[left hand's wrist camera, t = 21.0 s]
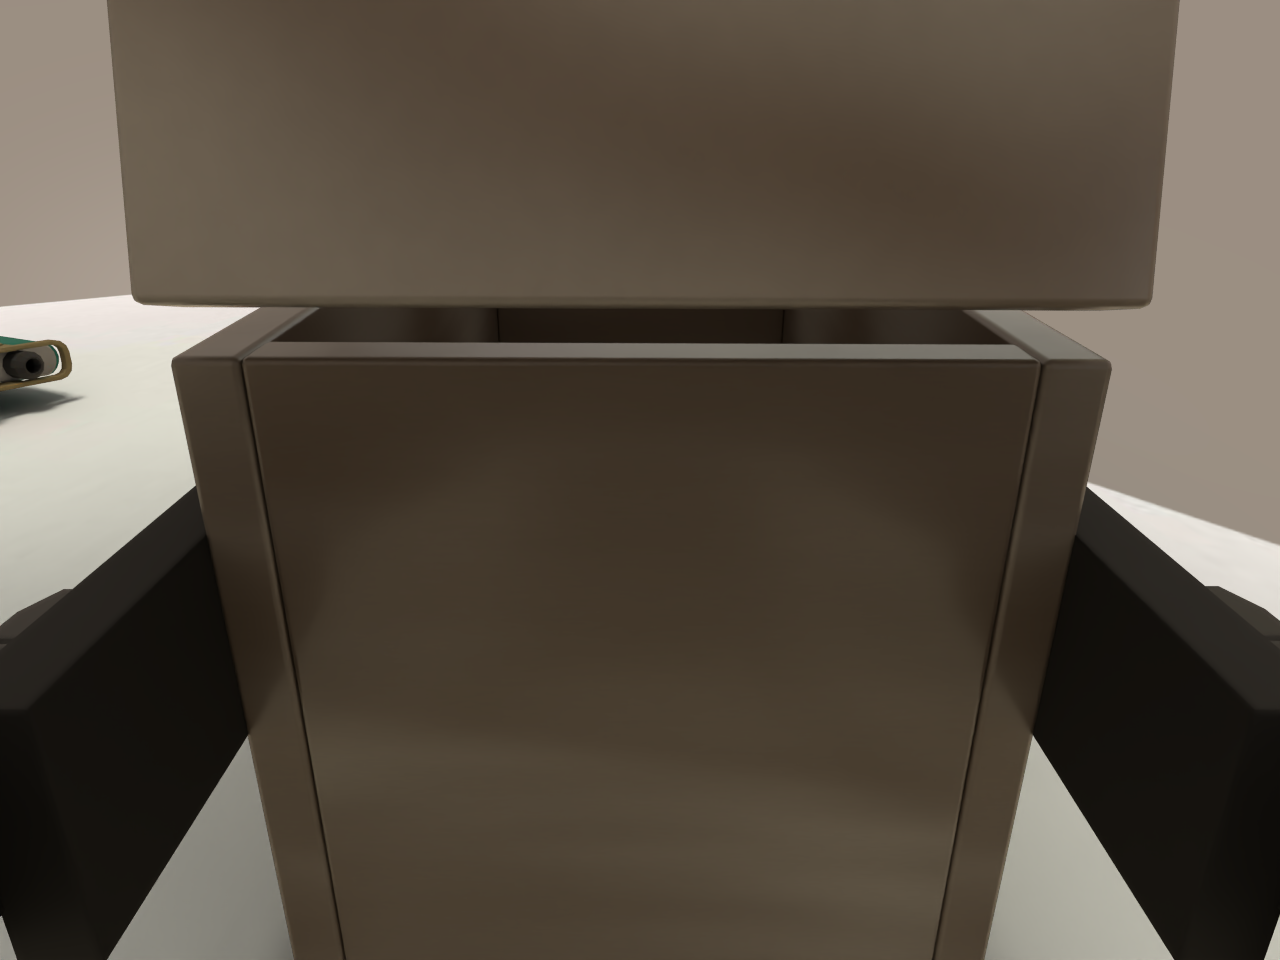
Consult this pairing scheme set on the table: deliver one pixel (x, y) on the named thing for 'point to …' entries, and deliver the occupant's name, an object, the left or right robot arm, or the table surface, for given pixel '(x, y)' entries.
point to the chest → (640, 619)
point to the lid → (643, 152)
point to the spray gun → (31, 362)
